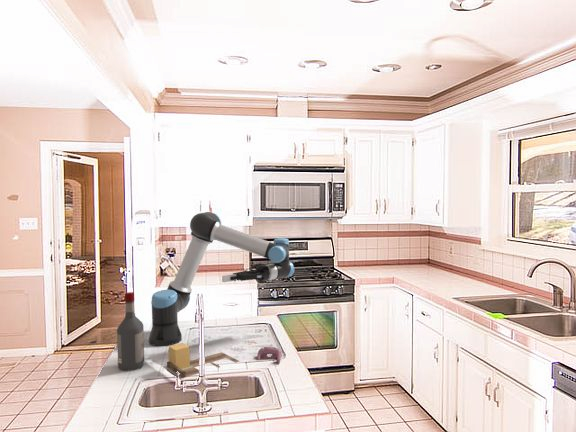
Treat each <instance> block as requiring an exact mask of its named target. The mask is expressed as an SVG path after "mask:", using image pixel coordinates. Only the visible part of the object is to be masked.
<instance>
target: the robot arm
mask: <svg viewBox="0 0 576 432" xmlns="http://www.w3.org/2000/svg"><path fill="white" fill-rule="evenodd" d="M189 229H190V230H191V232H190V235H191V240H190V241H189V242H190V243H189V245H188V247H187V249H186V252H185V255H184V256H183V259H182V261H181V264H180V265H179V268H178V270H177V272H176V275H175V278H174V280H171V281H170V282H169V284H168V287H166V288H167V289H162V290H158V291H156V292H154V293H153V294H152V296H151V301H150V304H151V322H152V326H151V329H150V333H149V336H148V343H149V345H151V346H154V347H155V346H156V347H158V346H159V347H164V346H167V347H168V346H172V345H176V344H179V343H180V342H181V341H182V339H183V338H182V337H183V336H182V332H181V330H180V329H181V328H180V327H179V324H178V322H179V321H178V313H180V311H182V310H184V309H185V308H186V307H187V306H188V304H189V303H190V300H191V293H192V287H191V286H192V283H193V282H194V279H195V276H196V274H197V273H198V272H197V271H198V269H199V267H200V264H201V262H202V261H203V258H204V256H205V253H206V251H207V249H208V245H210V244H212V243H213V242H214V241H218V242H220V243H223V244H226V245H229V246H231V247H235V248H237V249H240V250H243V251H246V252H249V253H251V254H255V255H258V256H260V257H263V258H265V259H268V260H270V262H272V263H268V264H262V265H261V264H260V265H258V266H256V268H255V269H250V270H247V269H245V270H242V271H237V272H234V273H233V272H232V273H231V274H225V275H222V276H221V278H222V279H221V281H222V283H228V282H236V281H238V282H239V281H240V282H243V281H253V280H257V281H258V282H267V281H269V282H272V280H278V279H286V278H290V277H292V276H293V275H294V273H295V266H294V264H293V263H292V262H291V261H290V241H289V239H288V238H285V237H284V238H282V237H281V238H280V237H278V238H275V239H274V240H273V242H270V241H268V240H266V239H262V238H259V237H256V236H254V235H250V234H249V233H246V232H243V231H240V230H237V229H234V228H232V227H228V226H225V225H223V224H222V220H221V218H220V216H219V215H217V214H216V213H214V212H212V211H205V212H200V213H196V214H195V215H194V216H192V218H191V220H190V223H189Z"/></svg>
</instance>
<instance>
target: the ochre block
mask: <svg viewBox="0 0 576 432" xmlns="http://www.w3.org/2000/svg"><path fill="white" fill-rule="evenodd" d="M190 351H191V350H190V346H189V345H187V344H186V343H184V342H181V343H180V342H179V343H176V344H172V345H168V362H171V363H173V364H174V365H176V366H177V367H179V368H180V369H183V368H187V367H190V361H191V355H190V354H191V352H190Z"/></svg>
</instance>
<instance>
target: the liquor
mask: <svg viewBox="0 0 576 432" xmlns="http://www.w3.org/2000/svg"><path fill="white" fill-rule="evenodd" d="M124 303H125V305H124V306H125V316H124V318H123V319H122V321H121V322H120V324H119V325H118V327H117V329H116V338H117V344H116V345H117V368H118V369H119V370H120V371H126V372H127V371H137V370H139V369H141V368H142V366H143V365H144V363H145V334H144V333H145V332H144V324H143V321H141V320H140V319H139V318H138V317H137V316H136V313H135V292H131V291H130V292H125V293H124Z"/></svg>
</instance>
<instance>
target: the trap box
mask: <svg viewBox="0 0 576 432" xmlns="http://www.w3.org/2000/svg"><path fill="white" fill-rule="evenodd" d="M204 357H205V364H209V363H210V364H211V365H212V366H214V367H216V368H221V366H220V365H218V364H217V363H214V362H218V361H220V360H225V359H228V360H230V361H231V362H234V363H239V362H240V360H238V359H236V358H234V357H232V356H230V355H228V354H226V353H224V352H222V351H220V352H217V353H214V354H210V355H207V356H204ZM199 358H200V357H198V358H195V359H192V360H191V359H190V367H187V368H183V369H180V368H179V367H177V366H176V365H174V364H173V363H171V362H169V361H166V368H168V369H166V371H167V372H168V373H169V374H171V375H173V377H175V376H177V375H176V372H177V371H178V372H179V373H180V376H179V377H180V378H181V379H184V378H187V377H190V376H194V375H197V374H198V375H199V374H200V373H199V370H200V369H198V368H196V367H198V366H200V365H199ZM205 364H204V365H205ZM170 370H171V371H170ZM174 373H175V374H174Z"/></svg>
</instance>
